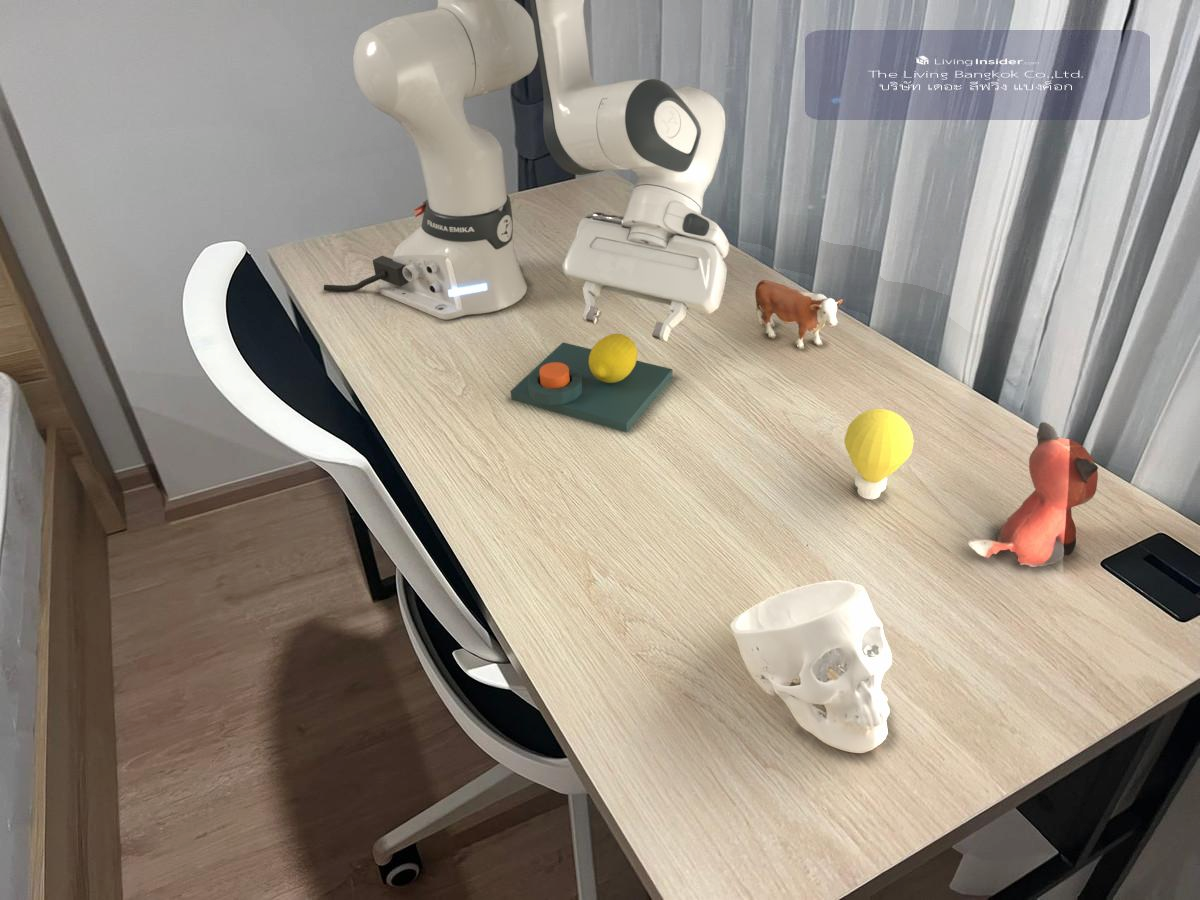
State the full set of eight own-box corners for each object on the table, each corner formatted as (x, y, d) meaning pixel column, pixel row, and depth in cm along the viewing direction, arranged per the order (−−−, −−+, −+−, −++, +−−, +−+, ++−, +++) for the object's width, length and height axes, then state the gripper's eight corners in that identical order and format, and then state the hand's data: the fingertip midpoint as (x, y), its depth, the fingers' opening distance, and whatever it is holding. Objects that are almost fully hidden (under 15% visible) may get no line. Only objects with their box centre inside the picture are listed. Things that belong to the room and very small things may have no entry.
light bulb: (824, 482, 97) (835, 406, 91) (875, 466, 99) (890, 389, 93) (862, 520, 92) (876, 441, 86) (915, 501, 94) (933, 423, 88)
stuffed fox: (944, 539, 89) (970, 442, 82) (1032, 508, 93) (1065, 412, 85) (998, 589, 84) (1031, 490, 76) (1090, 554, 87) (1130, 456, 80)
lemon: (606, 402, 110) (635, 370, 115) (625, 373, 106) (654, 342, 111) (570, 375, 110) (601, 344, 116) (588, 345, 106) (618, 315, 112)
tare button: (534, 385, 109) (533, 373, 108) (549, 371, 112) (548, 359, 111) (560, 392, 108) (559, 380, 107) (575, 378, 110) (574, 366, 109)
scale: (508, 403, 111) (505, 382, 109) (563, 351, 121) (562, 331, 119) (623, 436, 105) (623, 415, 103) (672, 378, 114) (672, 358, 112)
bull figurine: (825, 365, 116) (833, 309, 111) (746, 328, 124) (750, 274, 119) (846, 353, 118) (854, 297, 113) (766, 317, 126) (771, 264, 121)
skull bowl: (844, 790, 66) (798, 638, 65) (739, 735, 79) (698, 607, 77) (945, 724, 70) (904, 580, 69) (830, 682, 83) (793, 560, 81)
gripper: (575, 198, 111) (539, 304, 110) (731, 228, 103) (693, 341, 102) (593, 219, 116) (559, 319, 116) (742, 249, 109) (707, 356, 108)
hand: (623, 330), depth 109 cm, fingers open, 8 cm apart
